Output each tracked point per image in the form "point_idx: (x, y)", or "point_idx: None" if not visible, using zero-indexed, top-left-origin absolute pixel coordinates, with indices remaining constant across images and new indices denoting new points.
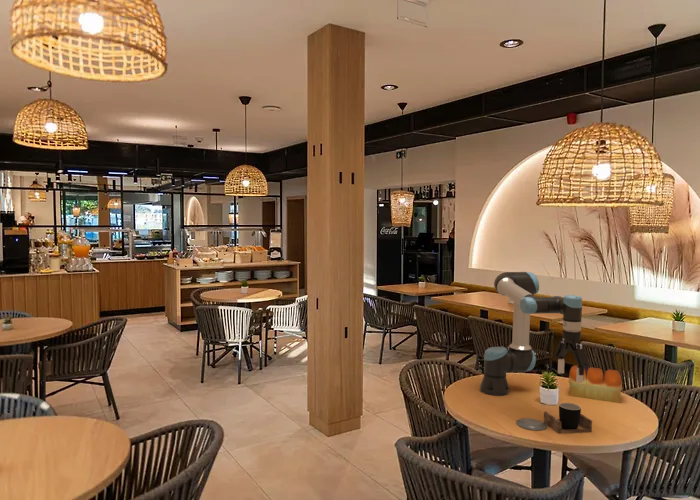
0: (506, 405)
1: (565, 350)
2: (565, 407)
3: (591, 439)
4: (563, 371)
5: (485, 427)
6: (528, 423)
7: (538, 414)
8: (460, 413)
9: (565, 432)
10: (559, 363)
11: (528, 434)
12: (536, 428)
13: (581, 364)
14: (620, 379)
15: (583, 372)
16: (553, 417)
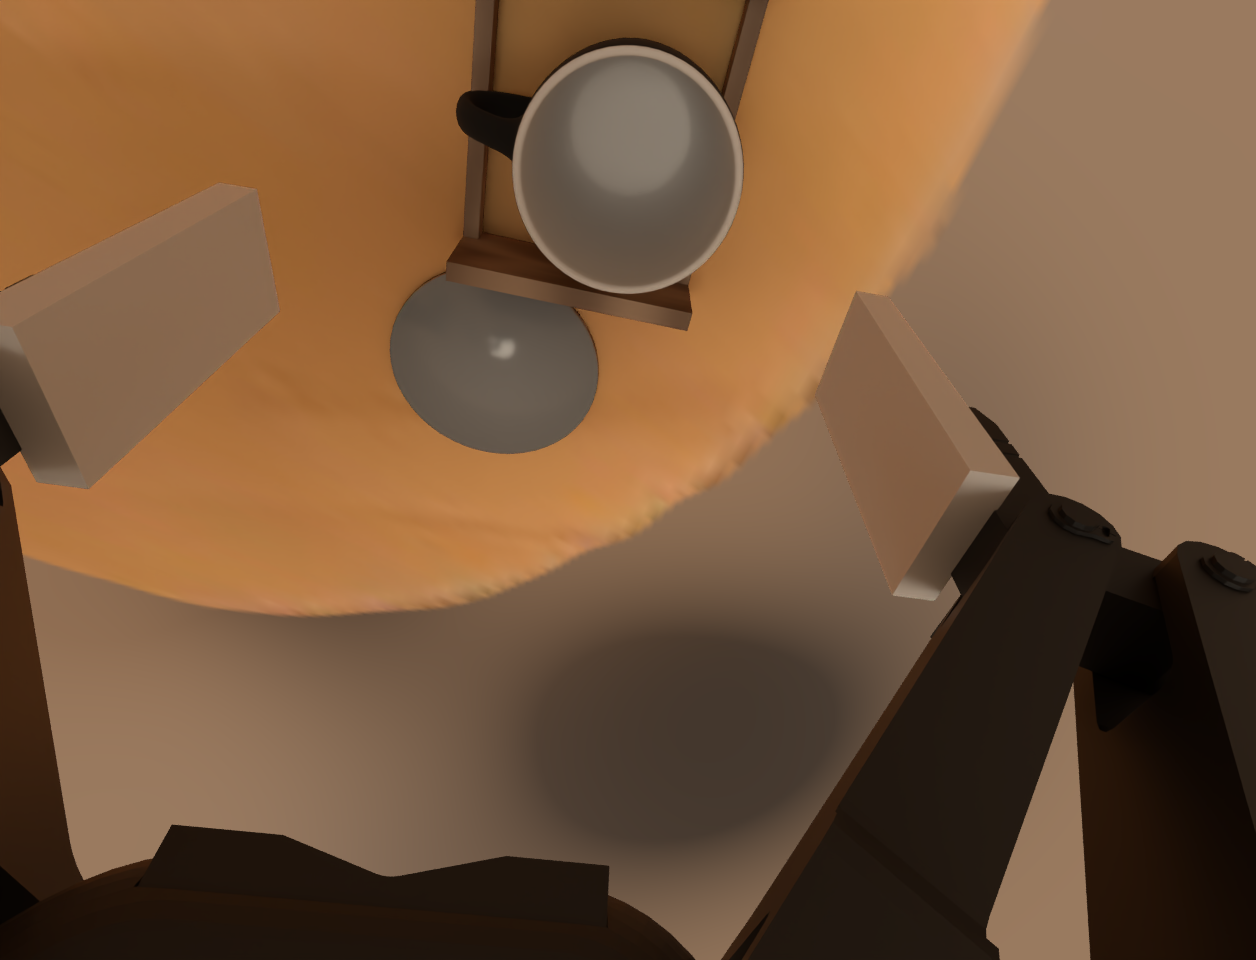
0: None
1: (36, 804)
2: (531, 136)
3: (877, 124)
4: (238, 214)
5: (478, 592)
6: (488, 387)
7: (290, 161)
8: (274, 600)
9: None
10: (154, 409)
11: (623, 470)
12: (579, 395)
13: (1113, 710)
14: None
15: (1007, 454)
16: (587, 302)
